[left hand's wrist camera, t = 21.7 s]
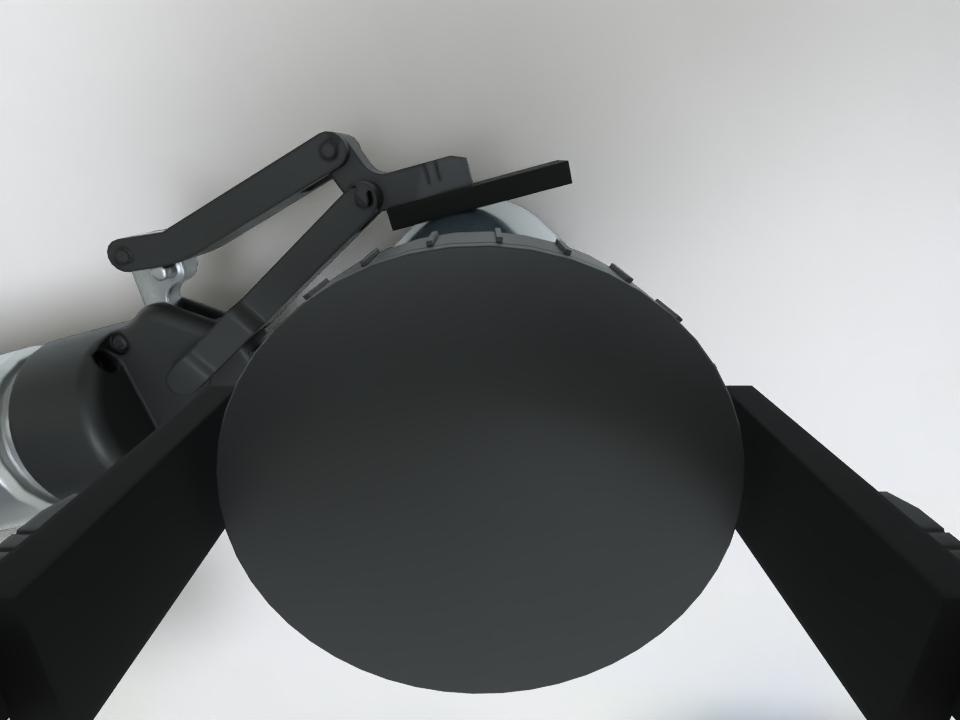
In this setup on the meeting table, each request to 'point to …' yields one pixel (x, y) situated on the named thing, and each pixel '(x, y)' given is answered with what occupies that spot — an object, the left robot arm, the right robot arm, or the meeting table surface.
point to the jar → (485, 223)
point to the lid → (480, 465)
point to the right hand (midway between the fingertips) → (588, 299)
